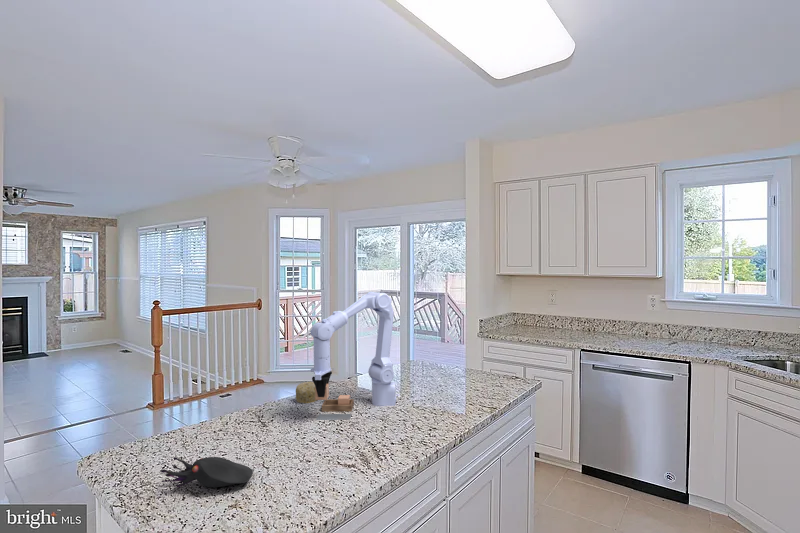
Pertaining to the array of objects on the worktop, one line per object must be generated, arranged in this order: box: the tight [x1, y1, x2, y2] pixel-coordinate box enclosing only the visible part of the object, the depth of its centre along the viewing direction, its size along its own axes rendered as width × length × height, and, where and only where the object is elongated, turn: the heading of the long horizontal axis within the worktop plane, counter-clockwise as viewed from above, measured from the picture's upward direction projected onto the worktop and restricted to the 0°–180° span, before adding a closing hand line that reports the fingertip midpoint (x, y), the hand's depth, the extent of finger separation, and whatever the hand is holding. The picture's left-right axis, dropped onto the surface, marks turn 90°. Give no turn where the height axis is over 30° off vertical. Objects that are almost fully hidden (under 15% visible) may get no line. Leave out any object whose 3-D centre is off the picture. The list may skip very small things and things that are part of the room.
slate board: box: [315, 413, 353, 421], centre depth 151 cm, size 12×6×1 cm, turn 89°
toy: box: [160, 456, 254, 488], centre depth 108 cm, size 10×21×10 cm, turn 96°
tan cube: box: [315, 383, 330, 401], centre depth 151 cm, size 4×4×4 cm
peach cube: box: [337, 394, 351, 405], centre depth 160 cm, size 4×4×4 cm
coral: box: [295, 380, 318, 404], centre depth 170 cm, size 9×9×8 cm
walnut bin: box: [321, 398, 355, 413], centre depth 160 cm, size 11×7×3 cm, turn 89°
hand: (322, 394), depth 151 cm, fingers closed on tan cube, 4 cm apart
